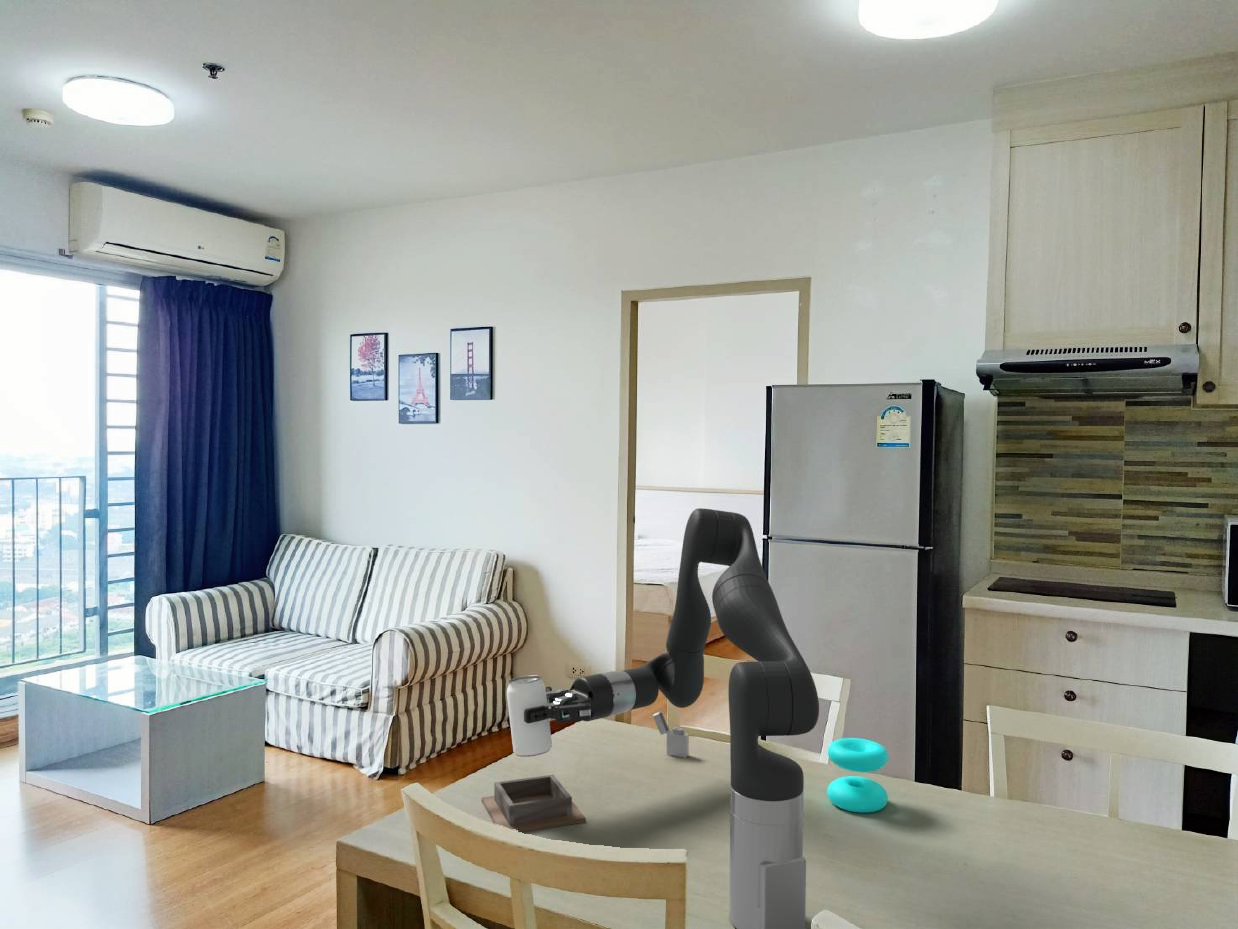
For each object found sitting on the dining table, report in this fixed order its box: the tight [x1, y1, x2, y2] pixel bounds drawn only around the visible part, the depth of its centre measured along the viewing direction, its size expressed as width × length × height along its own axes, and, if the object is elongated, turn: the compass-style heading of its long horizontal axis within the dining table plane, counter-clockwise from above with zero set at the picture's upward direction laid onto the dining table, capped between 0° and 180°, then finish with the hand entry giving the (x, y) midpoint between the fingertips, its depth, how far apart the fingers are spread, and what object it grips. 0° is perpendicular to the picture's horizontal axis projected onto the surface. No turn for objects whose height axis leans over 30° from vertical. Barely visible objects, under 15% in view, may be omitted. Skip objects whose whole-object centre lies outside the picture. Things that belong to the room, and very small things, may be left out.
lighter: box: [652, 710, 690, 758], centre depth 173 cm, size 7×2×8 cm, turn 65°
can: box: [506, 674, 553, 758], centre depth 146 cm, size 6×6×12 cm
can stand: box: [481, 774, 587, 833], centre depth 145 cm, size 14×14×4 cm
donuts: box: [826, 737, 889, 813], centre depth 149 cm, size 10×10×10 cm
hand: (518, 713), depth 143 cm, fingers closed on can, 4 cm apart
